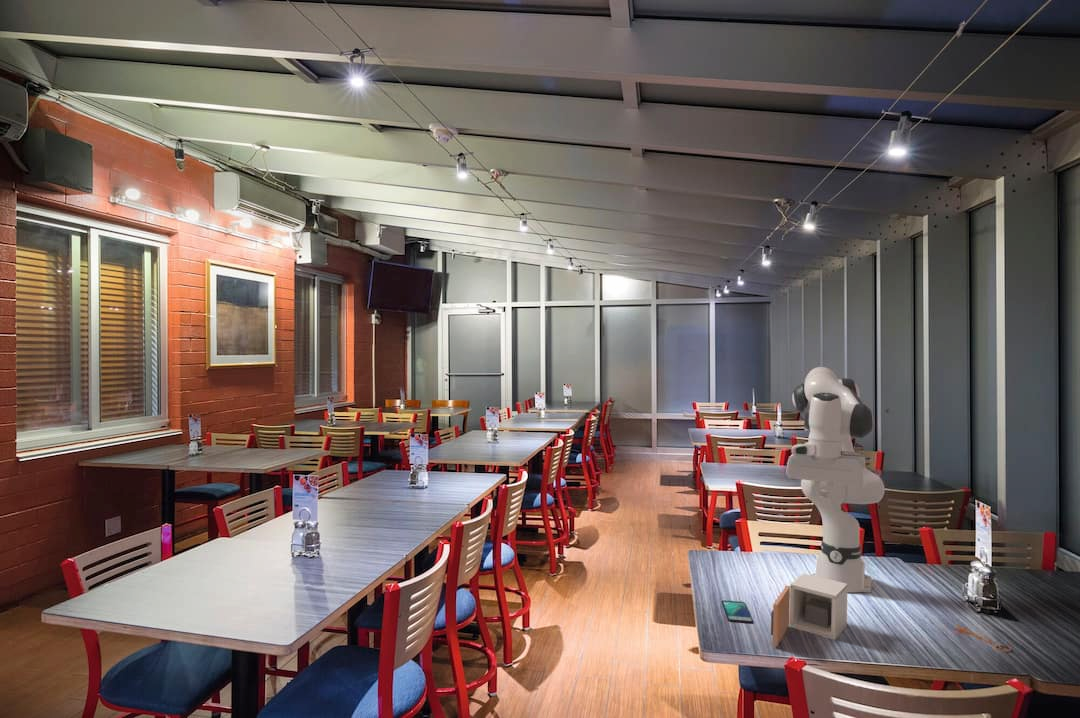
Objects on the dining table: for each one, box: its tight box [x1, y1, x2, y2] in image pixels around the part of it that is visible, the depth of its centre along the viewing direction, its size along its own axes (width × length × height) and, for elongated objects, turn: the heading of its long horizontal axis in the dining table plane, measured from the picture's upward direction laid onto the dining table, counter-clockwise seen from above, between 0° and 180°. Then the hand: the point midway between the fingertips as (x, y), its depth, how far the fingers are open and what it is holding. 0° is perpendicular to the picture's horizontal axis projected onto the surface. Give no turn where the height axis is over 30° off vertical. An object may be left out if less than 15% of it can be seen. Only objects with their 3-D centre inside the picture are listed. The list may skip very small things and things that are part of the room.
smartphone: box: [721, 599, 754, 625], centre depth 178 cm, size 7×1×15 cm
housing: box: [789, 573, 848, 641], centre depth 170 cm, size 12×12×12 cm
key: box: [952, 625, 1012, 653], centre depth 163 cm, size 6×1×15 cm
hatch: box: [770, 585, 790, 647], centre depth 163 cm, size 2×16×11 cm, turn 147°
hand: (823, 497), depth 172 cm, fingers closed
